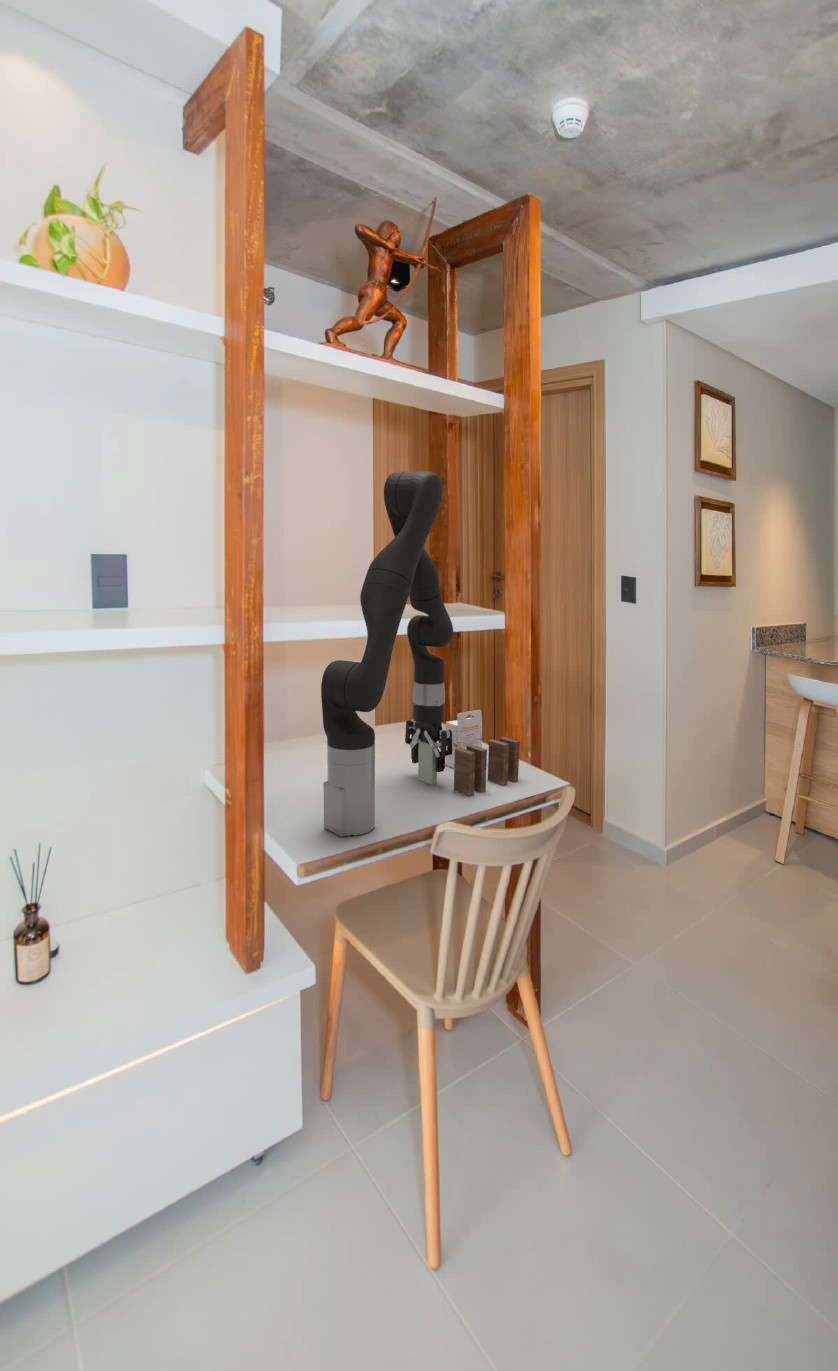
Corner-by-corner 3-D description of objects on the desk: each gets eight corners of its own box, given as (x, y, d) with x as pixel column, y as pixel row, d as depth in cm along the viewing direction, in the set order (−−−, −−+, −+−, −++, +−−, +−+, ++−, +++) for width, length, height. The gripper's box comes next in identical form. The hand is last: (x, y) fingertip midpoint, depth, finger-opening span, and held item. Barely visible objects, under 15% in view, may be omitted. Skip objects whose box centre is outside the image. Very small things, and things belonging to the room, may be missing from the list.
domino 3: (502, 785, 156) (504, 745, 155) (487, 780, 160) (489, 740, 158) (507, 784, 158) (509, 743, 156) (492, 778, 161) (493, 739, 159)
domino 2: (480, 792, 152) (482, 750, 150) (465, 786, 155) (466, 745, 153) (485, 791, 153) (487, 749, 151) (470, 785, 156) (471, 744, 154)
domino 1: (469, 796, 149) (470, 753, 147) (453, 790, 153) (454, 748, 151) (474, 794, 150) (475, 752, 148) (458, 788, 154) (459, 747, 152)
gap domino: (431, 784, 156) (432, 744, 154) (418, 779, 160) (418, 739, 158) (436, 783, 157) (437, 743, 156) (423, 778, 161) (423, 738, 159)
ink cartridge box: (469, 759, 176) (470, 705, 174) (481, 764, 173) (483, 709, 170) (444, 765, 171) (445, 709, 169) (456, 770, 168) (457, 713, 165)
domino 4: (513, 782, 159) (515, 742, 157) (498, 777, 163) (499, 737, 161) (517, 780, 160) (519, 741, 158) (502, 775, 164) (504, 736, 162)
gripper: (397, 697, 158) (396, 762, 161) (437, 708, 147) (436, 777, 150) (420, 694, 163) (420, 757, 166) (461, 704, 152) (459, 771, 155)
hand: (427, 766), depth 158 cm, fingers open, 8 cm apart
